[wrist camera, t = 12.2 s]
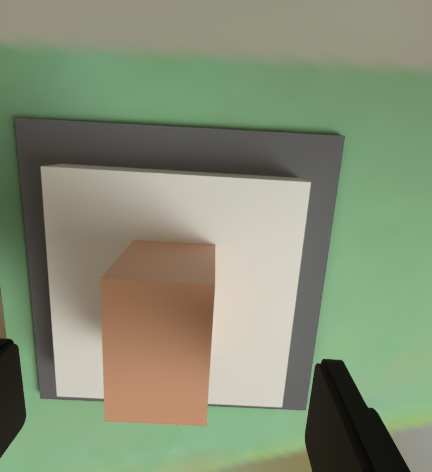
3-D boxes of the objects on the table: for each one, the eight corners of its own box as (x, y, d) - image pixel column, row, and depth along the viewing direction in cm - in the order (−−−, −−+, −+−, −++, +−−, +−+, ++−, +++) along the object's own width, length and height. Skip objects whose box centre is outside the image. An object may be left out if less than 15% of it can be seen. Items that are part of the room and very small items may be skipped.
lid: (299, 177, 18) (352, 198, 11) (275, 380, 21) (304, 495, 14) (62, 163, 18) (-37, 175, 11) (73, 370, 21) (2, 481, 14)
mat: (342, 135, 18) (344, 135, 18) (304, 405, 22) (305, 410, 22) (18, 118, 18) (14, 117, 17) (43, 394, 22) (40, 398, 22)
